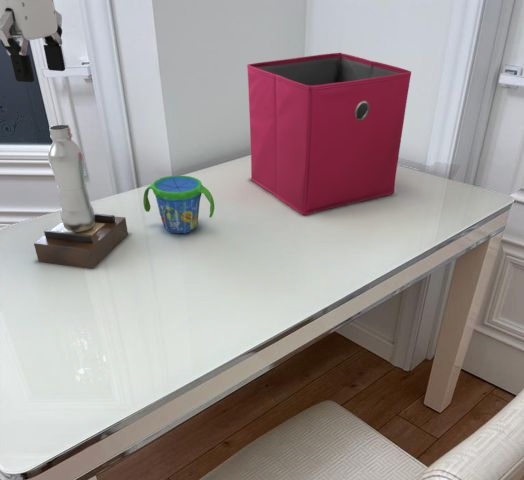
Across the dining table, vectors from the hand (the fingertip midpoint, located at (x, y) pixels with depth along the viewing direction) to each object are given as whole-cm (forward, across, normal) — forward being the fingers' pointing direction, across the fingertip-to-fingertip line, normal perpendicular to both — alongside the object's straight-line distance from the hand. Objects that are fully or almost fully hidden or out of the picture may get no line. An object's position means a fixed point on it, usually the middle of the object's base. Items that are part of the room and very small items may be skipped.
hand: (41, 75), depth 96 cm
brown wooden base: (+33, 0, +2) cm, 33 cm away
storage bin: (+32, -46, +44) cm, 71 cm away
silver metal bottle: (+29, 0, +2) cm, 29 cm away
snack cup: (+33, -14, +18) cm, 40 cm away
